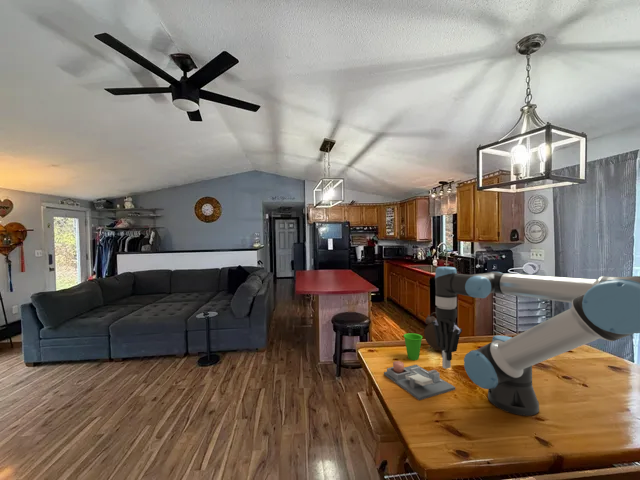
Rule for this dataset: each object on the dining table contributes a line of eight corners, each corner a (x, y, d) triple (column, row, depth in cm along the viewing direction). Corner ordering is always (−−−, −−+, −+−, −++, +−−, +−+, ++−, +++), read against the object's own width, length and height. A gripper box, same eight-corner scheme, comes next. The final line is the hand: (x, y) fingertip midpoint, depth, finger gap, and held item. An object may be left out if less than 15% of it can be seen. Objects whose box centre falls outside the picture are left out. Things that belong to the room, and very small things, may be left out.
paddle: (432, 383, 110) (432, 379, 110) (422, 385, 108) (422, 382, 108) (415, 375, 119) (414, 372, 119) (405, 378, 117) (405, 374, 117)
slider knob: (439, 381, 116) (439, 371, 116) (434, 383, 115) (433, 373, 115) (434, 378, 119) (434, 368, 119) (428, 379, 117) (428, 370, 117)
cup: (419, 363, 135) (419, 340, 135) (401, 359, 140) (400, 337, 140) (425, 357, 142) (425, 335, 142) (407, 353, 148) (407, 332, 148)
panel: (455, 389, 112) (455, 378, 112) (419, 400, 105) (418, 388, 105) (416, 366, 132) (416, 357, 132) (384, 374, 125) (383, 364, 125)
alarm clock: (456, 352, 147) (455, 314, 147) (448, 356, 142) (448, 316, 142) (430, 344, 158) (430, 309, 158) (423, 348, 154) (422, 311, 154)
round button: (406, 372, 121) (405, 364, 121) (397, 374, 119) (397, 366, 119) (399, 368, 125) (399, 360, 125) (391, 369, 123) (391, 362, 123)
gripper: (467, 309, 105) (468, 372, 106) (440, 302, 118) (440, 359, 118) (452, 312, 103) (453, 376, 103) (426, 304, 115) (426, 362, 115)
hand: (446, 367), depth 110 cm, fingers closed
